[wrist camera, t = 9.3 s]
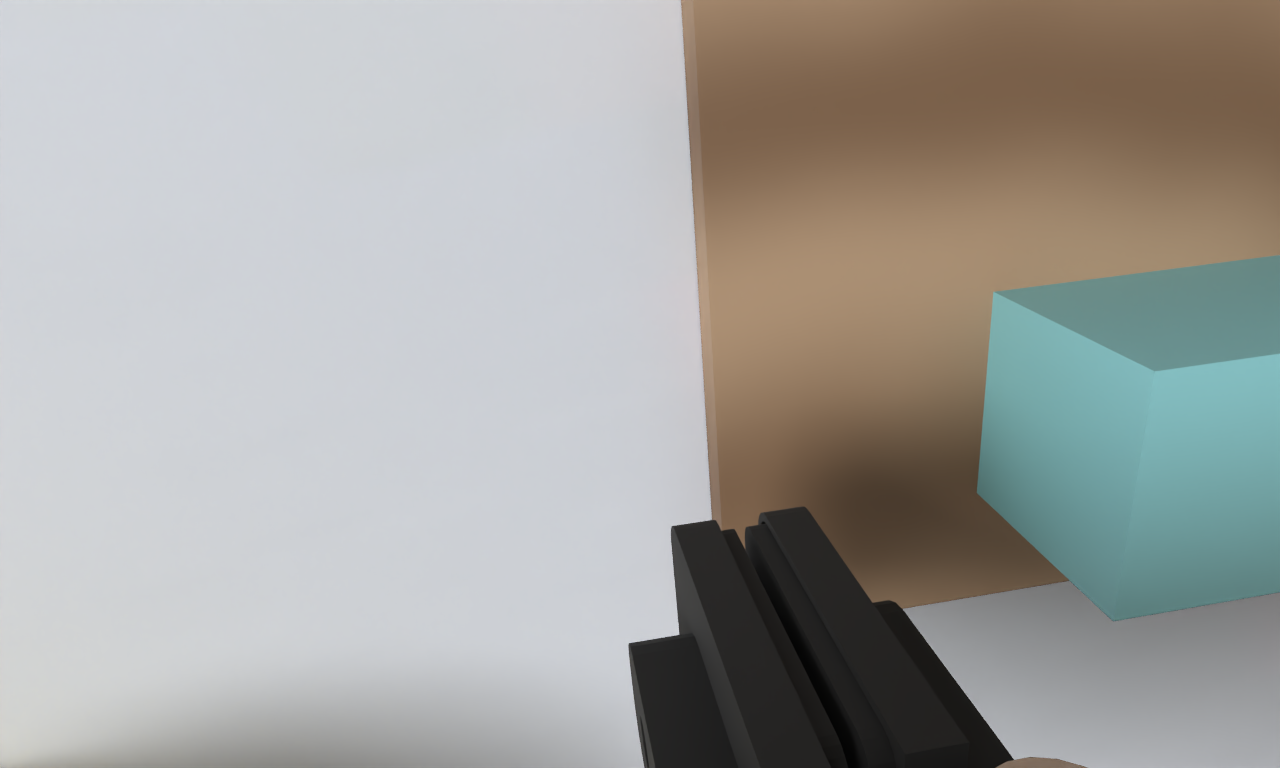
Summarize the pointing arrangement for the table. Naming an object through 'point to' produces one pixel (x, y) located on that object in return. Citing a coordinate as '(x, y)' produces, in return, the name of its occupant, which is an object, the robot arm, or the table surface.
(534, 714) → the table surface
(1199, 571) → the aqua foam brick
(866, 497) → the comb board
